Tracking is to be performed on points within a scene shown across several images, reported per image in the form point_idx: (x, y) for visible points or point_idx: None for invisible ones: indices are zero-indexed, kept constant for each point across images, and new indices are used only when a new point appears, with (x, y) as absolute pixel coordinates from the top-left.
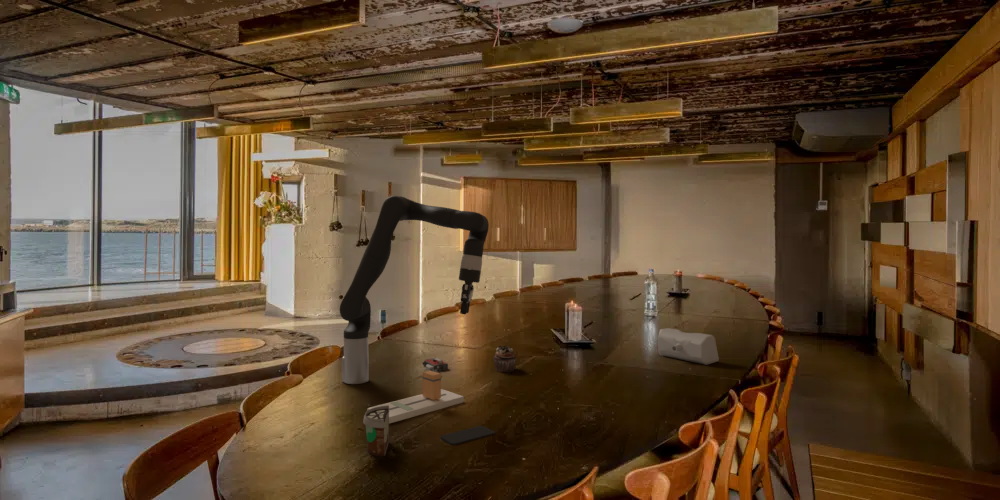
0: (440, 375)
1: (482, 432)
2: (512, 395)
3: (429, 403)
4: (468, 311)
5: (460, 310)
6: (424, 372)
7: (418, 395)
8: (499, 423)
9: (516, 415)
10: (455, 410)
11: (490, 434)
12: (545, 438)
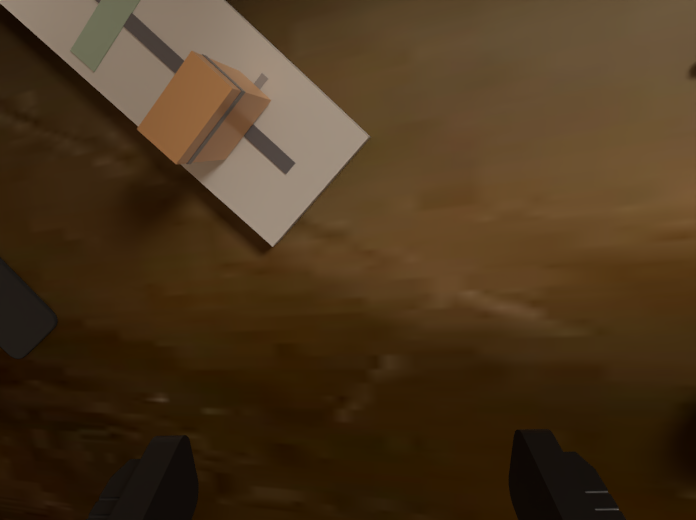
0: (179, 162)
1: (6, 326)
2: (375, 411)
3: None
4: (515, 510)
5: (138, 465)
6: (185, 65)
7: (263, 46)
8: (95, 368)
9: (170, 416)
10: (185, 222)
11: (2, 347)
12: (20, 475)
